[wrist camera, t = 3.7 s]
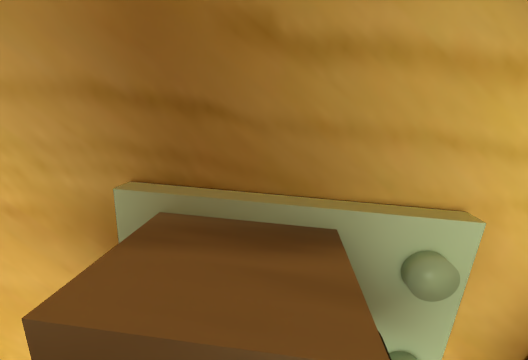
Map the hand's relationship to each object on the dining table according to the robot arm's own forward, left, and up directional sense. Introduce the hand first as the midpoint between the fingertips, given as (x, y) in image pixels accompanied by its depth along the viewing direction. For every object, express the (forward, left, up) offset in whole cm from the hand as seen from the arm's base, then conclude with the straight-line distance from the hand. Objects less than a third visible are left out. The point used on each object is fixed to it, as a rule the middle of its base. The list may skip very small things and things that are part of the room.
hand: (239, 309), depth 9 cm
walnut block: (0, 0, -1) cm, 1 cm away
